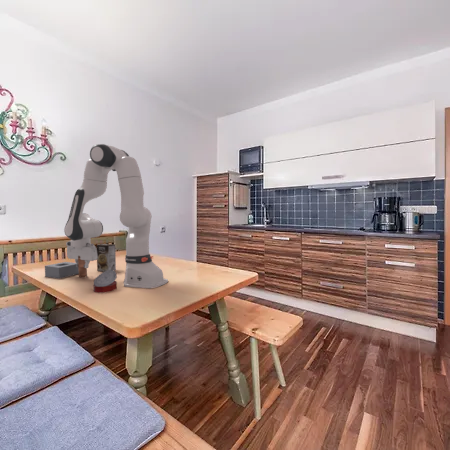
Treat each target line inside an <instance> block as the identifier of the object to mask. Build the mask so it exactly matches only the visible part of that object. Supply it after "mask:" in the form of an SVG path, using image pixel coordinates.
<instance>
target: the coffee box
mask: <svg viewBox="0 0 450 450" xmlns="http://www.w3.org/2000/svg"><path fill="white" fill-rule="evenodd" d="M96 249H97V256H98V258H97V260H96V269H97V270H96V271H98V272H105V271H108V270H113V271H116V270H117V268H116V267H117V266H116V265H117V261H116V256H117V255H116V253H117V252H116V244H114V243H98V244H96Z"/></svg>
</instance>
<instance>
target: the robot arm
mask: <svg viewBox="0 0 450 450" xmlns="http://www.w3.org/2000/svg"><path fill="white" fill-rule="evenodd" d="M89 157H90V159H88V160H87V161H86V164H85V166H84V167H85V168H84V172H83V179H82V184H81V186H80V187H79V188H78V189H77V190H75V193H74V195H73V198H72V199H73V200H72V203H71V207H70V211H69V214H68V218H67V221H66V223H65V226H64V229H63V230H64V231H63V232H64V234H65V237H67V239H69V240H68V241H67V242H65V244H66V246H67V247H66V256H67V258H68V259H69V260H71V259H72V260H74V263H76V264H77V267H78V256H80V259H81V260H85V262H86V263H85V265H84V268H87V269H88V268H89V265H90V262H91V261H92V262H94V261H97V258H98V256H97V245H95V244H94V243H91V240H92V238H98V237H100V236H101V235H102V234H103V232H104V225H103V223H102V222H101V221H100V220H98V219H95V218H92V217H91V216H90V215H89V214H88V213H84V208H85V206H86V205H87V203H88V202H90V201H91V200H95V199H97V198H99V197H102V196H103V195H104V194H105V193H106V191H107V189H108V188H107V187H108V175H109V172H111V171H112V172H116V175H117V179H118V181H117V182H118V184H119V185H118V186H119V193H120V202H121V203H120V212H119V221H120V224H122V225H123V226H124V227H127V228H128V232H127V235H126V239H125V252H126V253H125V254H126V255H125V258H124V259H125V263H126V265H125V272H124V273H125V274H124V279H123V287H127V288H143V289H153V288H159V287H162V286H163V285H166V284H167V283H168V282H169V280H168V278H164V273H163V270H162V268H160V267H158V265H157V264H155V262H154V261H153V258H154V255H153V256H152V255H151V254H150V231H151V223H152V222H151V221H152V213H151V211H150V210H149V209H148V207H145V206H144V194H145V191H144V186H143V180H142V175H141V170H140V168H139V164H138V162H137V160H136V159H135V158H134V157H133V156H130V154H129V153H127V152H126V151H125V150H123V149H119V148H117V147H115V146H112V145H109V144H108V145H107V144H105V143H98V144H94V145H93V146H92V147H91V148H90V151H89Z"/></svg>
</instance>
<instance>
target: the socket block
mask: <svg viewBox="0 0 450 450" xmlns="http://www.w3.org/2000/svg"><path fill="white" fill-rule="evenodd" d="M77 275H79V268H78V267H77V264H76V262H70V261H63V262H58V263H53V264H52V263H51V264H47V265H44V277H47V278H53V279H57V280H58V279H59V280H60V279H63V278H67V277H71V276H77Z"/></svg>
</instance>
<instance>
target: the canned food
mask: <svg viewBox="0 0 450 450" xmlns="http://www.w3.org/2000/svg"><path fill="white" fill-rule="evenodd" d="M117 275H118V274H117V273H116V270H108V271H102V273H100V274H98V275H97V276H96V277H95V278H94V280H93V292H94V293H99V294H100V293H102V294H103V293H110V292H113V291H115V290H117V287H118V283H117V281H116V279H117Z"/></svg>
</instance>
